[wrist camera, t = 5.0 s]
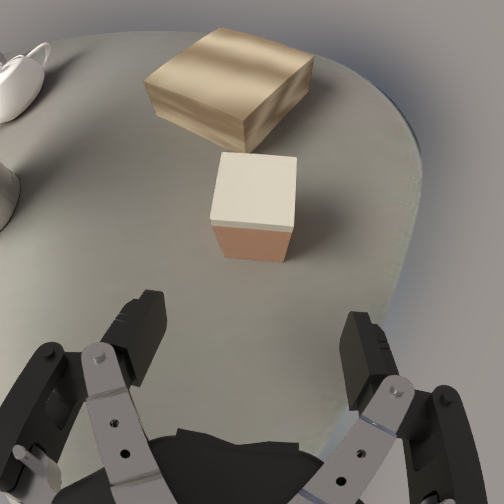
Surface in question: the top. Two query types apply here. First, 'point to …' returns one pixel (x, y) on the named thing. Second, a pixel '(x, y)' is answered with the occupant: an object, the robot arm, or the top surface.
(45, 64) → the teapot
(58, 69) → the top surface
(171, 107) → the pine box
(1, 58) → the donut
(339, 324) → the top surface
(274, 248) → the cube
